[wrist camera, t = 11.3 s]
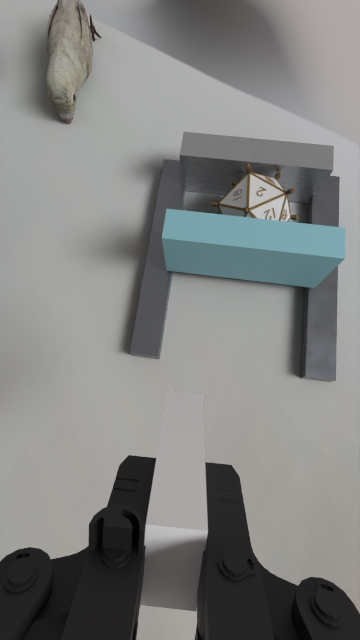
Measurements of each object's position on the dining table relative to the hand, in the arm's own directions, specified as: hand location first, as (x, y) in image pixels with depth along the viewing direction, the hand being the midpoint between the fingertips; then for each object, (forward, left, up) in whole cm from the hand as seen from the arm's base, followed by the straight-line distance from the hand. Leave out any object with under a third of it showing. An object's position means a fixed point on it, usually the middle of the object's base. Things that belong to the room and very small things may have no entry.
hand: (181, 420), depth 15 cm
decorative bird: (-21, +43, -21) cm, 52 cm away
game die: (+5, +22, -21) cm, 31 cm away
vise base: (+4, +18, -21) cm, 28 cm away
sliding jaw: (+4, +16, -19) cm, 26 cm away
